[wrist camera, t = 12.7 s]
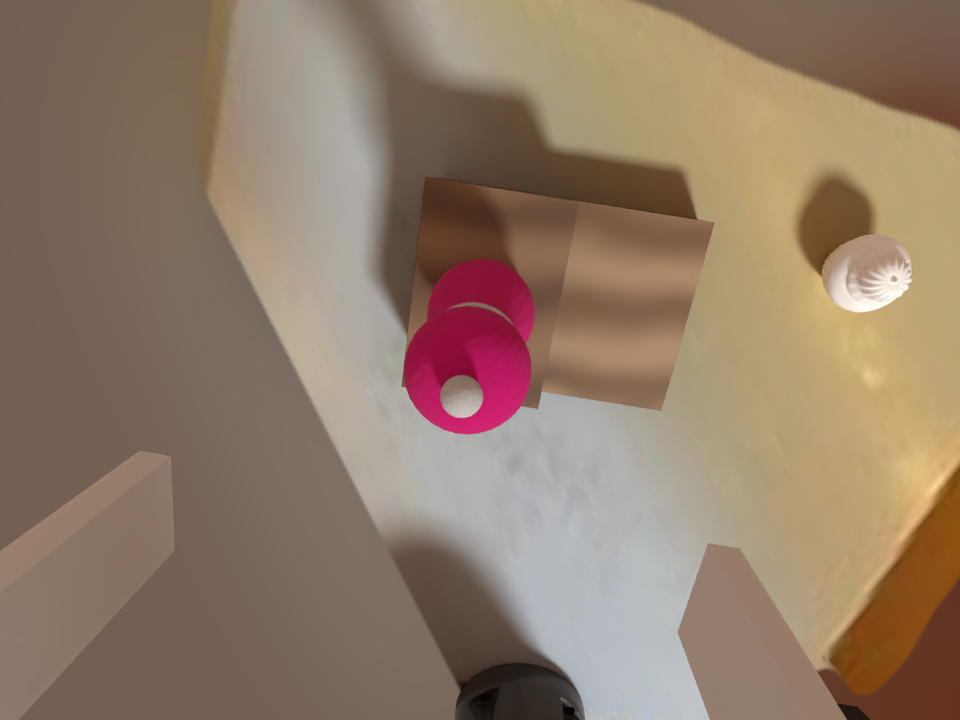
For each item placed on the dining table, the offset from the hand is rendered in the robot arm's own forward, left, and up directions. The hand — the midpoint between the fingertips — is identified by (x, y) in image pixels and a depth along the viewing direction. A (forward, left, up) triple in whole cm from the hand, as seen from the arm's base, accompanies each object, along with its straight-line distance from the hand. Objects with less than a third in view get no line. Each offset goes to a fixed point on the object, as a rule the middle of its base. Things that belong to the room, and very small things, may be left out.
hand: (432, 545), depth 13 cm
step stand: (0, -5, -37) cm, 37 cm away
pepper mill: (0, 0, -29) cm, 29 cm away
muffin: (+6, -29, -37) cm, 48 cm away
